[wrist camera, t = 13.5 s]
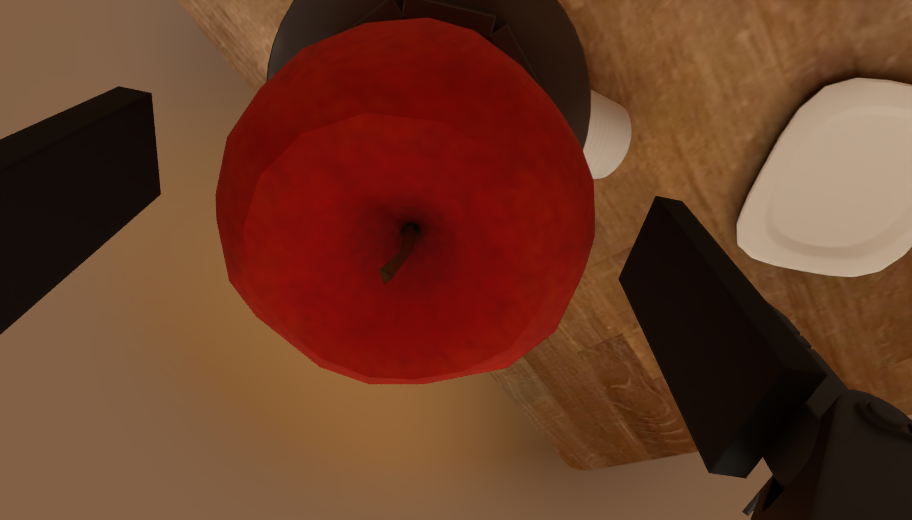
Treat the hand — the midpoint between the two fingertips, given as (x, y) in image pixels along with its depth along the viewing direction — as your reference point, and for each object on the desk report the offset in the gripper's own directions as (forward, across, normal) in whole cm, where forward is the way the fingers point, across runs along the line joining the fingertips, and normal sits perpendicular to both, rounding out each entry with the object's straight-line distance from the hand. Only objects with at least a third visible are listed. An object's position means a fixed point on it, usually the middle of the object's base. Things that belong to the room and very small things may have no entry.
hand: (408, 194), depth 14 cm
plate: (+32, +39, -6) cm, 51 cm away
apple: (+7, 0, 0) cm, 7 cm away
